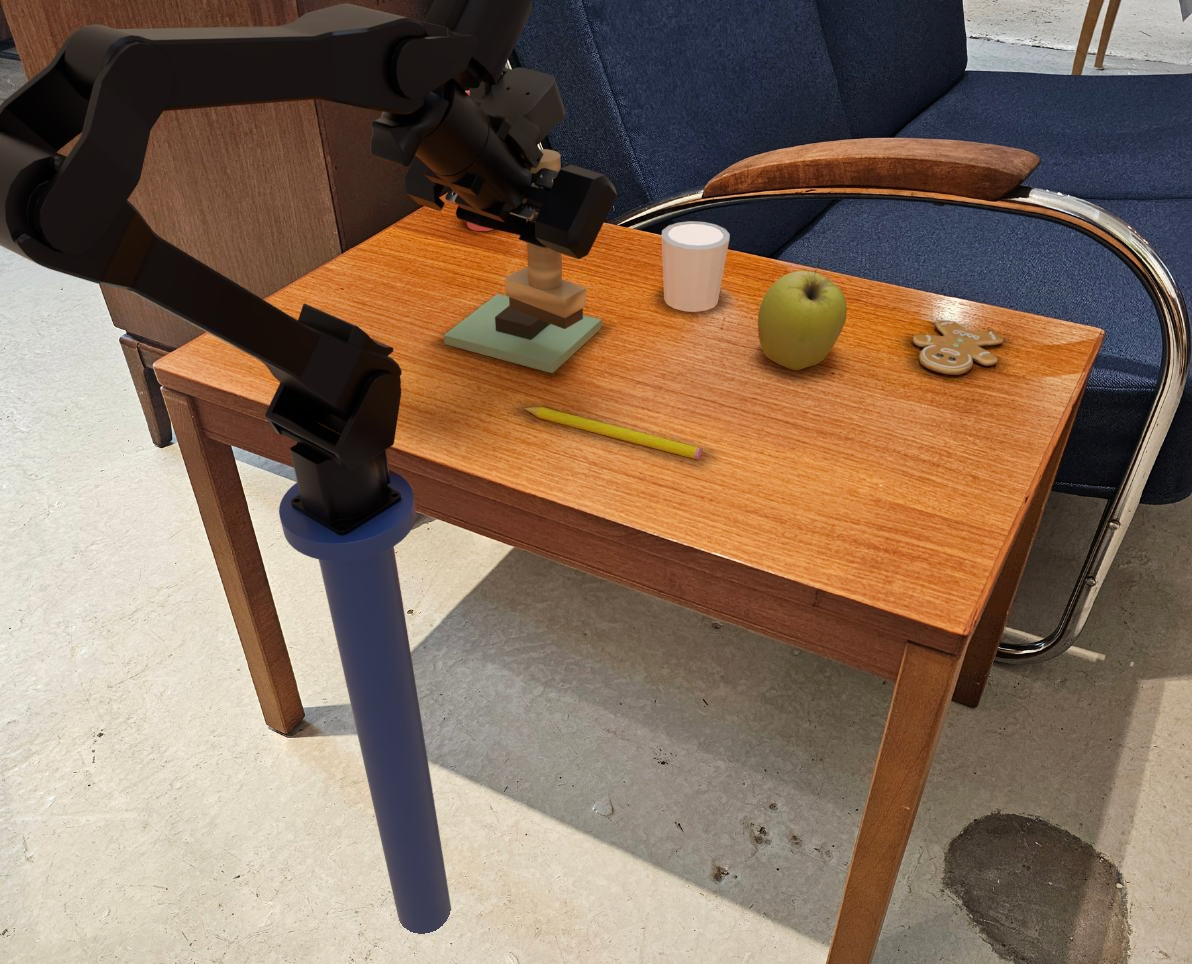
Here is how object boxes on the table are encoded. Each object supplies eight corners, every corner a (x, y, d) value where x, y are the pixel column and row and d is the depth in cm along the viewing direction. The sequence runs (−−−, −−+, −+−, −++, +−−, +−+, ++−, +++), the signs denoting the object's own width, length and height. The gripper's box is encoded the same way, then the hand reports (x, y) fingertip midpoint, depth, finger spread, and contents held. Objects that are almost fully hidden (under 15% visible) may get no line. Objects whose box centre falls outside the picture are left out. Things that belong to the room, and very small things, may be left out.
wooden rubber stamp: (565, 331, 93) (563, 169, 84) (506, 308, 96) (498, 150, 87) (586, 319, 95) (586, 159, 86) (527, 297, 98) (522, 141, 89)
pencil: (701, 456, 88) (702, 446, 88) (697, 462, 88) (698, 452, 87) (527, 410, 93) (527, 400, 93) (522, 415, 93) (521, 406, 92)
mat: (552, 373, 98) (552, 364, 97) (444, 344, 102) (443, 334, 101) (601, 328, 105) (601, 319, 104) (498, 302, 109) (497, 293, 108)
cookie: (1015, 334, 102) (982, 377, 96) (1013, 343, 103) (979, 386, 96) (933, 311, 105) (895, 351, 99) (931, 320, 106) (893, 360, 100)
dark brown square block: (531, 340, 101) (530, 326, 100) (495, 331, 102) (494, 316, 101) (551, 322, 103) (551, 308, 102) (516, 314, 105) (515, 299, 104)
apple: (745, 324, 103) (788, 233, 96) (820, 355, 103) (868, 265, 97) (736, 365, 97) (782, 270, 90) (816, 396, 98) (867, 305, 91)
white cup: (731, 290, 111) (737, 225, 106) (715, 319, 106) (720, 252, 101) (668, 280, 113) (672, 216, 108) (649, 308, 108) (652, 242, 103)
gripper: (603, 63, 73) (683, 179, 87) (415, 19, 82) (515, 131, 96) (533, 208, 74) (623, 301, 88) (353, 150, 83) (461, 242, 96)
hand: (554, 238), depth 92 cm, fingers closed on wooden rubber stamp, 3 cm apart
